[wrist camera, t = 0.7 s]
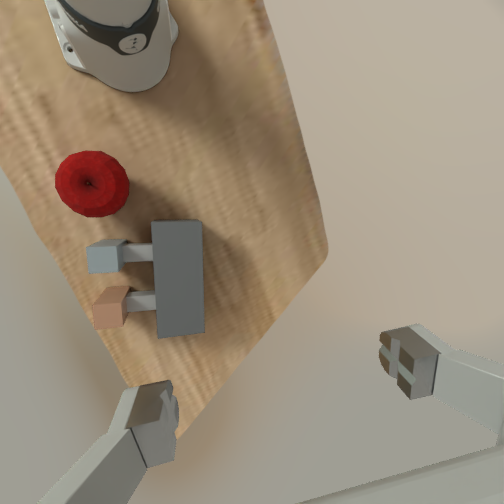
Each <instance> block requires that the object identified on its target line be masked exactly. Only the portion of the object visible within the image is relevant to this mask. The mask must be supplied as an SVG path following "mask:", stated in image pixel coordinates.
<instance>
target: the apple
mask: <svg viewBox="0 0 504 504" xmlns="http://www.w3.org/2000/svg"><path fill="white" fill-rule="evenodd" d="M55 188H56V190H57V192H58V194H59V196H60V198H61V199H62V201H63V202H64V203H65V204H66V205H67V206H69V207H70V208H71V209H72V210H73V211H74V212H77V213H79V214H81V215H84V216H86V217H104V216H108V215H111V214H115V213H116V212H117V211H118V210H119V209H120V208H122V207H123V206H124V204H125V202H126V200H127V197H128V195H129V180H128V177H127V174H126V172H125V169H124V168H123V167H122V166H121V165H120V164H119V162H118V161H117V160H116V159H115V158H113V157H111V156H109V155H107V154H106V153H104V152H102V151H82V152H79V153H75V154H72V155H69V156H68V157H67V158H66V159H65V160H64V161H63V162H62V163H61V164H60V166H59V168H58V170H57V172H56V174H55Z"/></svg>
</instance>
